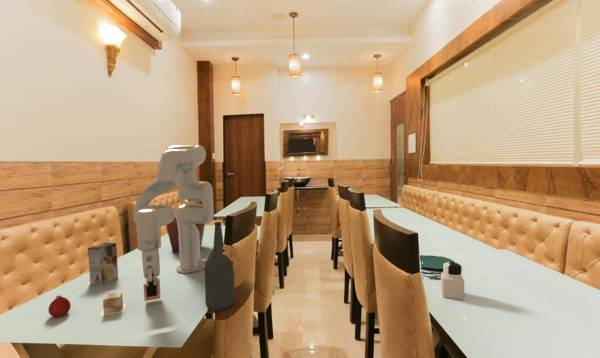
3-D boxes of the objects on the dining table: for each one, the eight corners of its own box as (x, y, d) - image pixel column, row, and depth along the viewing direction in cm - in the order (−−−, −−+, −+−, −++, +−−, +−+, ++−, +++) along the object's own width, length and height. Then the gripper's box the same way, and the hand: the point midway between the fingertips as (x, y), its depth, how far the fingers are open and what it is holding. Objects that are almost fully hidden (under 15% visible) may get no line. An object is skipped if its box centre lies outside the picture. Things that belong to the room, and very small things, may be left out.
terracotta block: (160, 292, 116) (159, 277, 116) (160, 298, 111) (159, 282, 111) (145, 295, 114) (144, 279, 114) (144, 301, 110) (143, 284, 109)
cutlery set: (452, 260, 157) (452, 255, 157) (464, 283, 128) (464, 278, 128) (410, 257, 163) (410, 253, 163) (413, 279, 134) (413, 274, 134)
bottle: (211, 297, 118) (208, 219, 116) (237, 297, 118) (234, 219, 116) (202, 310, 108) (199, 225, 106) (230, 310, 107) (227, 224, 106)
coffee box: (106, 276, 143) (104, 242, 142) (118, 277, 141) (116, 242, 140) (89, 284, 134) (87, 247, 133) (102, 285, 132) (100, 248, 131)
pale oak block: (122, 305, 111) (122, 291, 111) (120, 311, 106) (120, 296, 106) (106, 307, 109) (105, 293, 109) (103, 314, 104) (102, 299, 104)
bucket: (196, 254, 174) (194, 210, 173) (157, 255, 175) (155, 211, 173) (209, 243, 199) (208, 204, 197) (175, 244, 199) (173, 205, 198)
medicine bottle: (461, 292, 119) (461, 261, 118) (464, 300, 112) (464, 267, 111) (440, 290, 121) (440, 259, 120) (442, 297, 114) (442, 265, 114)
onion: (57, 314, 107) (55, 291, 107) (75, 313, 107) (73, 290, 107) (45, 323, 101) (43, 299, 101) (63, 322, 102) (62, 298, 101)
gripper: (160, 248, 105) (163, 300, 106) (161, 236, 120) (164, 282, 122) (135, 252, 102) (138, 305, 103) (140, 239, 118) (142, 285, 119)
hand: (152, 292), depth 113 cm, fingers closed on terracotta block, 5 cm apart
